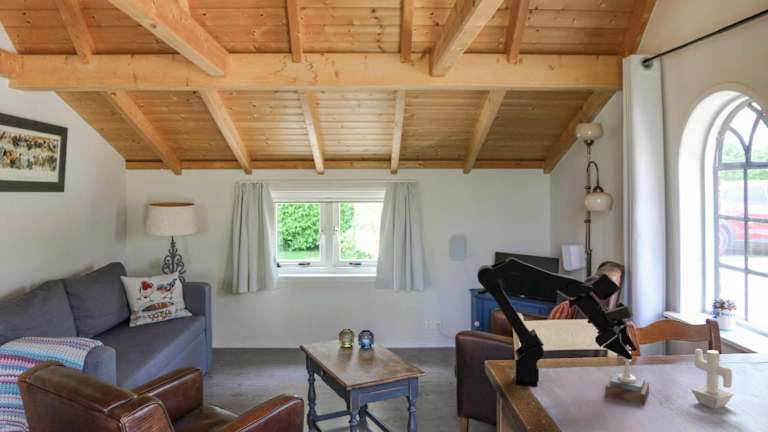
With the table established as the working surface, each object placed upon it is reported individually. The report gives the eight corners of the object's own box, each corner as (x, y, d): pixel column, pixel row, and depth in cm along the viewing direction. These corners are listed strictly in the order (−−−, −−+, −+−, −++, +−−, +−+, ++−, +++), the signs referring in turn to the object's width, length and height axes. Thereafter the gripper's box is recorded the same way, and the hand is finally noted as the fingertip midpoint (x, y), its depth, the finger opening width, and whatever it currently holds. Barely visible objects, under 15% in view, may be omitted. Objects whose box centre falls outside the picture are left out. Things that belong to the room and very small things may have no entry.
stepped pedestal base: (605, 396, 140) (605, 381, 140) (611, 385, 148) (611, 371, 148) (644, 404, 134) (644, 388, 134) (648, 393, 143) (649, 378, 142)
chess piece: (638, 383, 138) (639, 348, 138) (620, 381, 139) (620, 347, 139) (633, 377, 143) (634, 343, 143) (615, 375, 144) (616, 342, 144)
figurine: (721, 413, 129) (723, 357, 129) (686, 400, 138) (688, 347, 137) (737, 408, 132) (739, 354, 132) (702, 396, 141) (704, 344, 140)
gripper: (608, 300, 135) (653, 346, 129) (619, 289, 150) (659, 331, 144) (578, 323, 140) (619, 369, 134) (592, 311, 155) (629, 352, 149)
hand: (633, 354), depth 140 cm, fingers open, 9 cm apart
